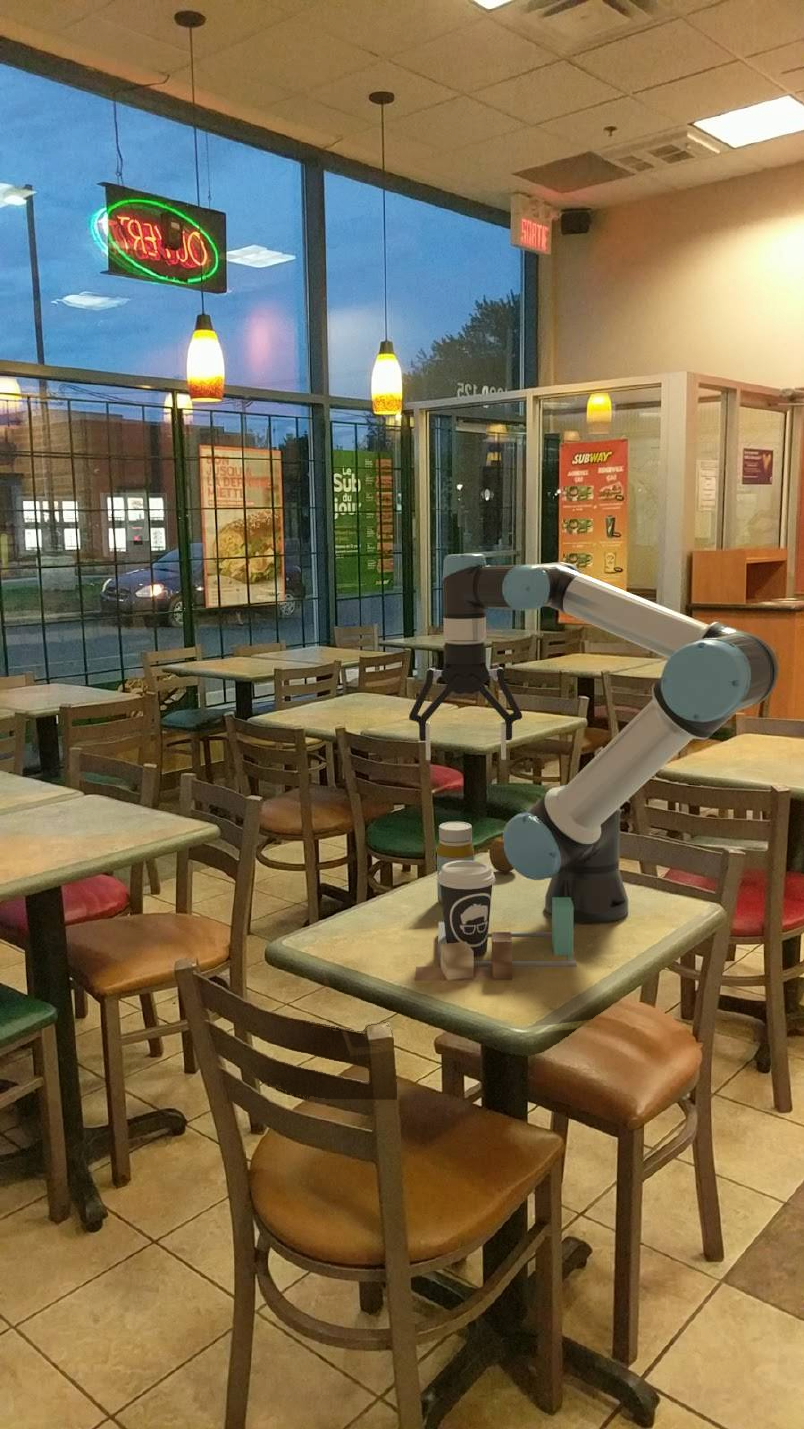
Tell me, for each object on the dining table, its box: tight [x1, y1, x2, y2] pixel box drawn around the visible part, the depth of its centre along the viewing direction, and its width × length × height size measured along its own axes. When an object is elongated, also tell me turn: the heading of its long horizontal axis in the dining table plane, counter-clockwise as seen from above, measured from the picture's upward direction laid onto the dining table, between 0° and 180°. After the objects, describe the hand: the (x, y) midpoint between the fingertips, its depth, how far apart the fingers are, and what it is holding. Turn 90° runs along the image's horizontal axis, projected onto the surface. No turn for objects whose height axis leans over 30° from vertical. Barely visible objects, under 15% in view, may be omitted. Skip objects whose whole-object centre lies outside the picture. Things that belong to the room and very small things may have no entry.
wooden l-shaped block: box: [414, 931, 513, 981], centre depth 165 cm, size 15×5×7 cm, turn 87°
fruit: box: [488, 835, 515, 874], centre depth 216 cm, size 6×6×8 cm
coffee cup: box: [436, 860, 496, 958], centre depth 173 cm, size 10×10×15 cm
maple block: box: [440, 942, 475, 981], centre depth 165 cm, size 4×4×4 cm
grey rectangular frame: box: [437, 897, 577, 967], centre depth 174 cm, size 22×14×9 cm, turn 87°
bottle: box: [436, 821, 475, 906], centre depth 198 cm, size 7×7×15 cm
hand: (465, 758), depth 191 cm, fingers open, 13 cm apart
